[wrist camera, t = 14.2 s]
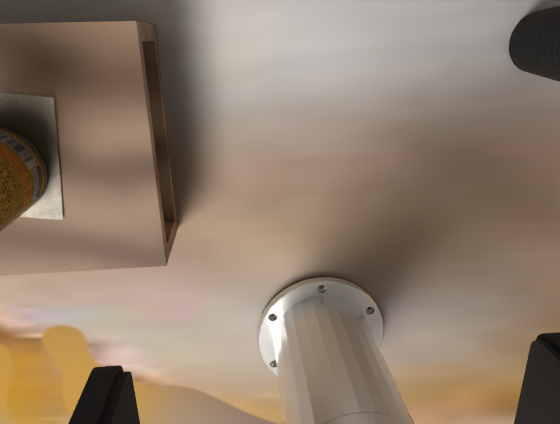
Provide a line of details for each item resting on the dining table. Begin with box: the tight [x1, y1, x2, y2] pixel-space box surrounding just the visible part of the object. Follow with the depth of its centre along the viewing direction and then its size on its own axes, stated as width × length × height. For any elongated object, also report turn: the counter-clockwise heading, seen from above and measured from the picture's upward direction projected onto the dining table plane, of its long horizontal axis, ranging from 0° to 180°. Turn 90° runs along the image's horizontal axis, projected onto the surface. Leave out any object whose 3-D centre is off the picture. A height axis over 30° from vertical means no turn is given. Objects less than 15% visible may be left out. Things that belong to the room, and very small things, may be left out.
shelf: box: [0, 21, 178, 276], centre depth 34 cm, size 17×20×7 cm
